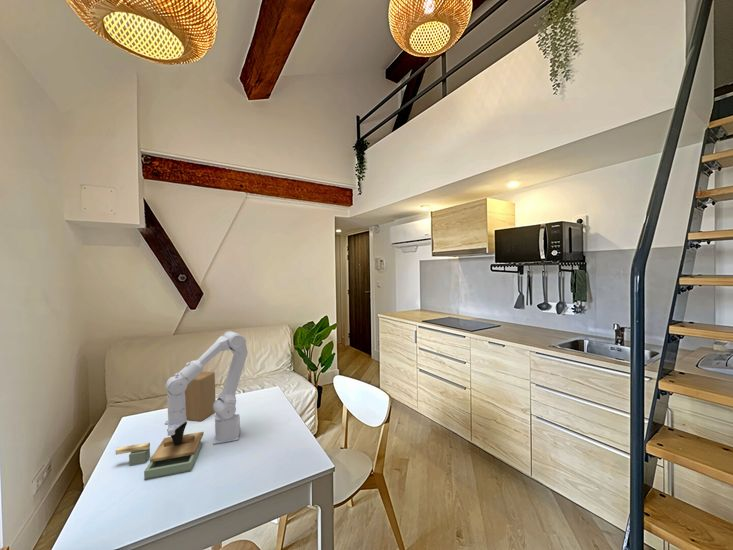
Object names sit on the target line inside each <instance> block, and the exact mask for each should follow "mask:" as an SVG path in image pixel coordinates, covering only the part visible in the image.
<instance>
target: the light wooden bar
mask: <svg viewBox="0 0 733 550" xmlns="http://www.w3.org/2000/svg"><path fill="white" fill-rule="evenodd" d="M149 447H150V448H151V442H144V443H138V444H131V445H126V446H120V447H117V448H116V450H115V455H122V454H128V453H129V454H130V453H131V452H135V451H141V450H147V449H149Z"/></svg>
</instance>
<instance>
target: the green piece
mask: <svg viewBox="0 0 733 550" xmlns="http://www.w3.org/2000/svg"><path fill="white" fill-rule="evenodd" d="M201 442H202V440H201V441H200V443H199V446H198V448H197V450H196V452H195V454H193V455H187V456H182V457H176V458H171V459H165V460H159V461H154V462H150V461H149V463H148V464H147V466H146V468H145V470H144V471H143V473H144V474H143V475H144V479H143V480H144V481H147V480H153V479H158V478H162V477H168V476H173V475H179V474H183V473H188V472H192V470H193V468H194V465H195V464H196V461H197V459H198V456H199V454H200V452H201V449H202V443H201Z"/></svg>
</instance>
